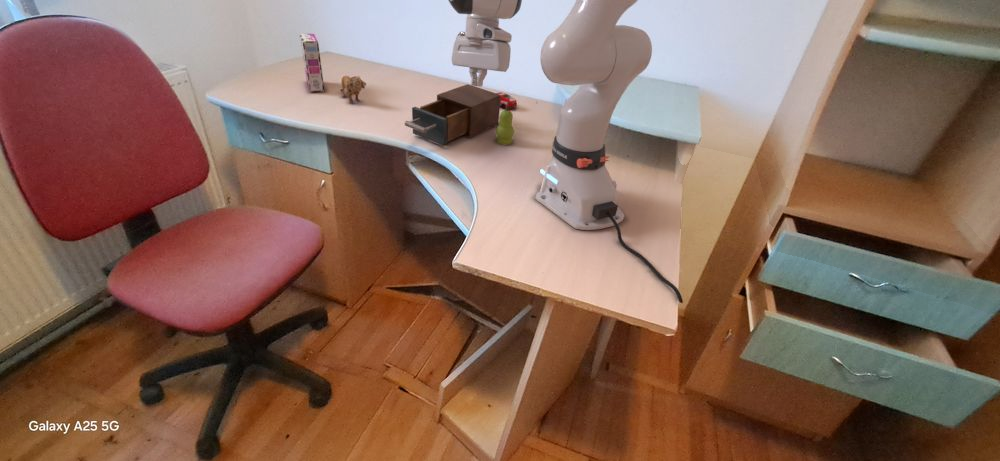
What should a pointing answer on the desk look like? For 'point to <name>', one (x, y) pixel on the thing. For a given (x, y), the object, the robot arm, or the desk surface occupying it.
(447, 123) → the drawer
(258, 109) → the desk surface
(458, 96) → the cabinet
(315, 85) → the candy bar box
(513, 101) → the race car
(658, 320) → the desk surface
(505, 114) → the pear
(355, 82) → the lion figurine
